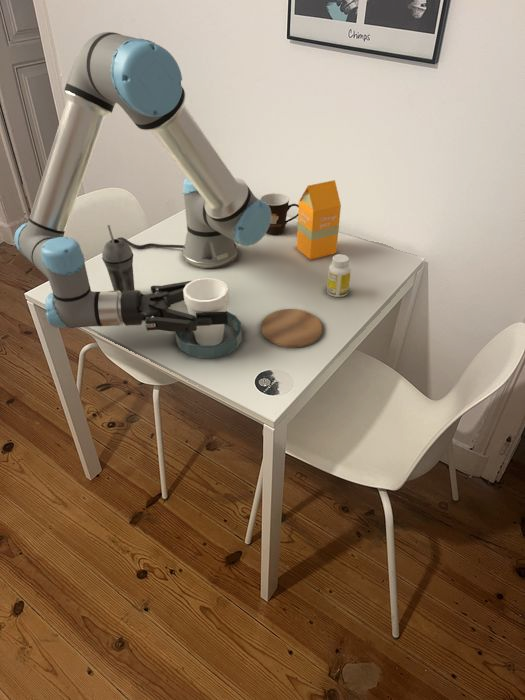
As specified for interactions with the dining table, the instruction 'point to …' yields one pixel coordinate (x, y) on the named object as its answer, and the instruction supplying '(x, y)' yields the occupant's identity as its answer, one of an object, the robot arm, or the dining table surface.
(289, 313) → the wooden coaster
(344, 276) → the supplement bottle
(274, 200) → the coffee mug
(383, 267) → the dining table surface
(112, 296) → the robot arm
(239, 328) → the ring
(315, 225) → the orange juice
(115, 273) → the beverage cup
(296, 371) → the dining table surface
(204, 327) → the foam cup
